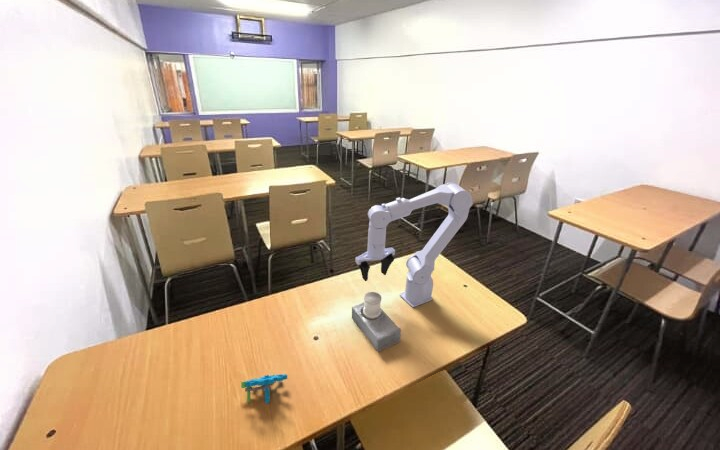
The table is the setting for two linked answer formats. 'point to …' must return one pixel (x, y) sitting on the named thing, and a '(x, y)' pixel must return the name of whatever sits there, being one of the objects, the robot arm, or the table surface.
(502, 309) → the table surface
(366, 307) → the white cabinet knob
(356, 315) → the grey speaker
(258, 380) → the blue legged part
